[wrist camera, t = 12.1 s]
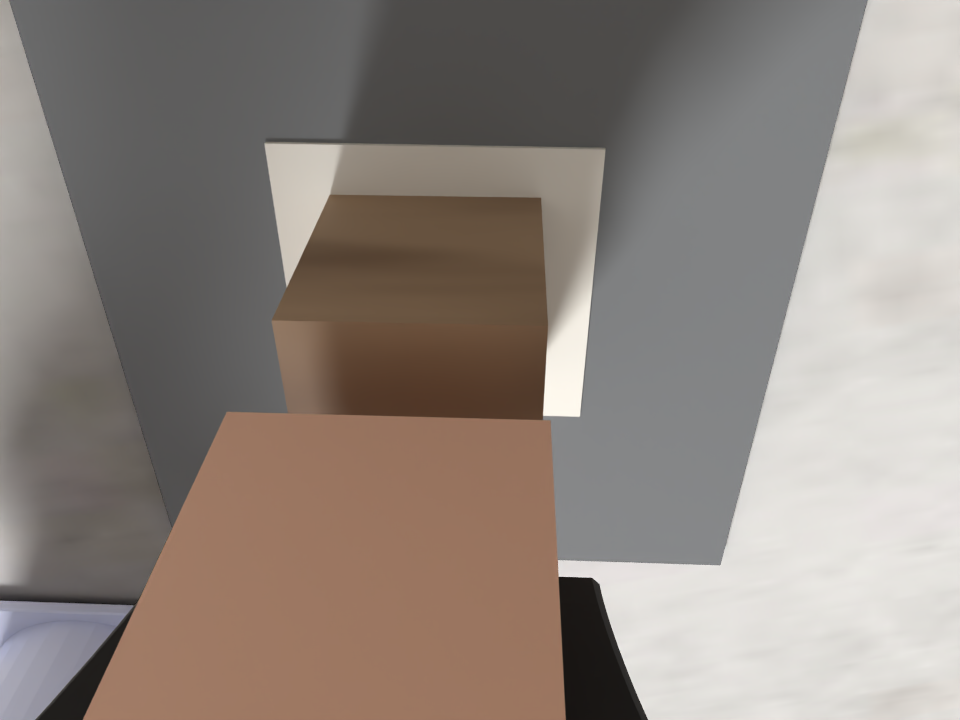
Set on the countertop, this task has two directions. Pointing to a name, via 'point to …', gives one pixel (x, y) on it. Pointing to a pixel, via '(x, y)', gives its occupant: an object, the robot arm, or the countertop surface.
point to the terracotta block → (353, 577)
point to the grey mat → (465, 173)
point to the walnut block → (418, 309)
